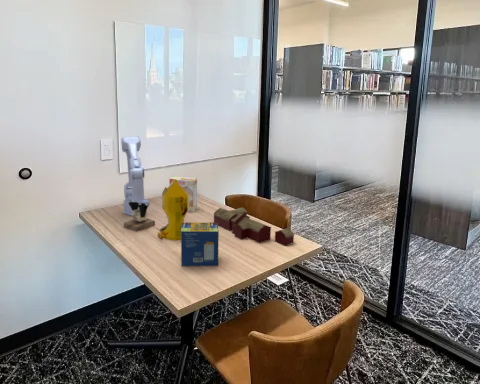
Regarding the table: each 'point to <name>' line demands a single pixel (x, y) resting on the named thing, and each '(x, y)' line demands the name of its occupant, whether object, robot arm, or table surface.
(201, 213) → the table surface
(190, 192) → the coffeecake box
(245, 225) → the toy houses
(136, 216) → the maple cube
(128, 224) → the walnut slab
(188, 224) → the protein box
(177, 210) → the yellow faceted tall shape
